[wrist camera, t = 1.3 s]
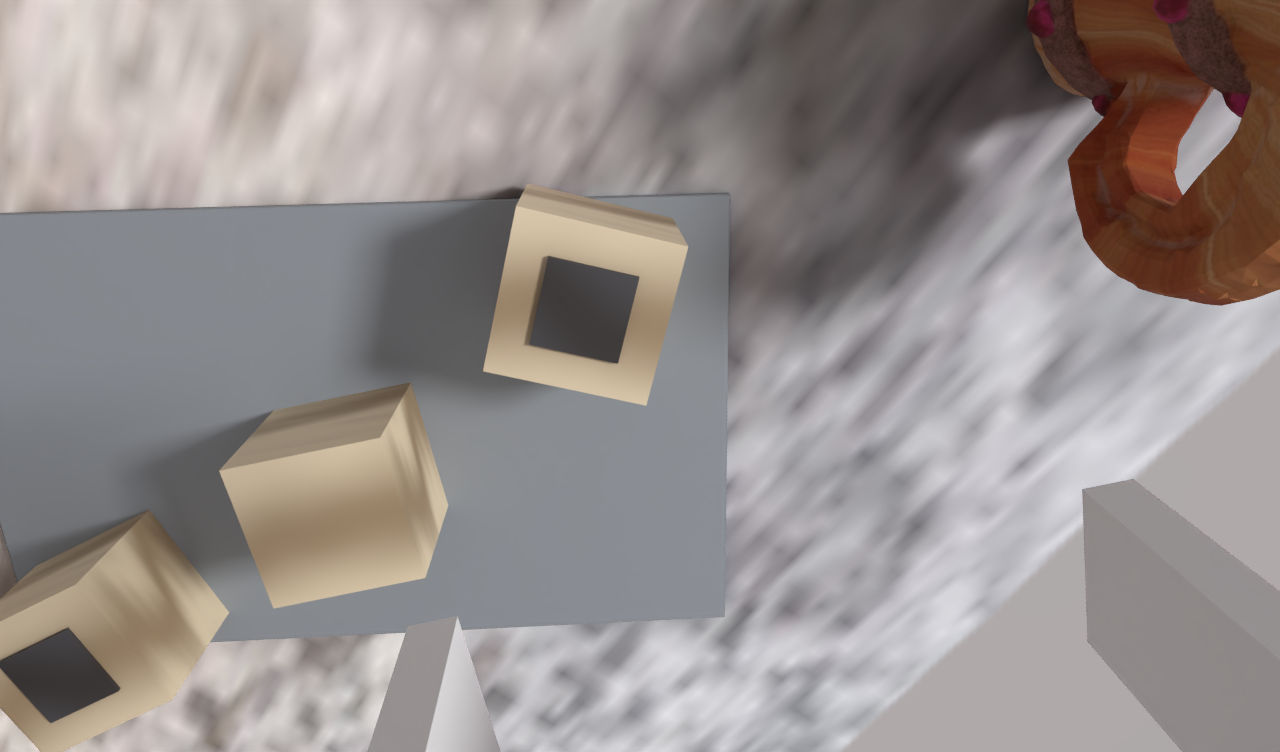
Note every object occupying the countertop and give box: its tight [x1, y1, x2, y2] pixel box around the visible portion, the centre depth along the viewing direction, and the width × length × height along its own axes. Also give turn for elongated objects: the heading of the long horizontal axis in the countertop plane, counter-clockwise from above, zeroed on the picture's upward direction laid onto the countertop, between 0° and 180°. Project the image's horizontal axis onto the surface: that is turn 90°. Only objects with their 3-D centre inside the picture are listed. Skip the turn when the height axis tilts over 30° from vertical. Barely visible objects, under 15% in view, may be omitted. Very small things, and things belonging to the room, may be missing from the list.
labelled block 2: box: [483, 183, 688, 406], centre depth 34 cm, size 6×6×6 cm
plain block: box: [219, 382, 448, 609], centre depth 36 cm, size 6×6×6 cm
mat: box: [0, 193, 730, 642], centre depth 39 cm, size 20×32×1 cm, turn 91°
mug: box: [1026, 0, 1280, 305], centre depth 29 cm, size 15×8×15 cm, turn 167°
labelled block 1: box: [0, 510, 229, 752], centre depth 38 cm, size 6×6×6 cm
